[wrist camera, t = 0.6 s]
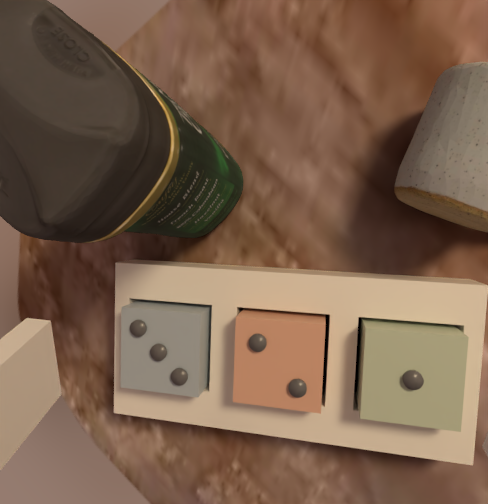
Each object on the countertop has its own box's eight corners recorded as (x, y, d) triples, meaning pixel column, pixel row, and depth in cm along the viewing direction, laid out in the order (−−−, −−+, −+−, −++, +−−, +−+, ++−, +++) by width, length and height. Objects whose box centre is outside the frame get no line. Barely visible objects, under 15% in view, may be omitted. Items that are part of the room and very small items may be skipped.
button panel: (457, 440, 28) (472, 465, 25) (132, 396, 33) (113, 412, 30) (470, 279, 27) (488, 285, 24) (134, 259, 33) (115, 262, 30)
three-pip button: (210, 380, 30) (197, 399, 27) (139, 372, 31) (118, 388, 28) (212, 305, 30) (199, 314, 26) (140, 299, 31) (119, 307, 28)
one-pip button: (445, 409, 27) (462, 434, 24) (356, 398, 28) (360, 420, 25) (452, 324, 26) (470, 338, 23) (361, 317, 27) (366, 329, 24)
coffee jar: (263, 179, 30) (170, 108, 12) (197, 252, 31) (24, 289, 13) (176, 98, 31) (-33, -83, 13) (116, 173, 32) (-148, 105, 14)
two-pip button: (321, 394, 28) (320, 415, 25) (241, 384, 30) (231, 403, 26) (325, 314, 28) (325, 325, 25) (244, 307, 29) (234, 317, 26)
